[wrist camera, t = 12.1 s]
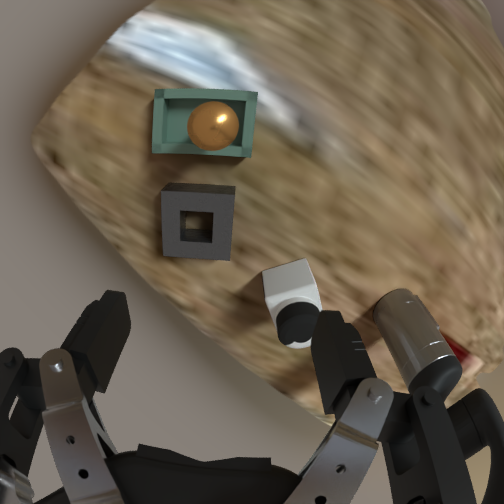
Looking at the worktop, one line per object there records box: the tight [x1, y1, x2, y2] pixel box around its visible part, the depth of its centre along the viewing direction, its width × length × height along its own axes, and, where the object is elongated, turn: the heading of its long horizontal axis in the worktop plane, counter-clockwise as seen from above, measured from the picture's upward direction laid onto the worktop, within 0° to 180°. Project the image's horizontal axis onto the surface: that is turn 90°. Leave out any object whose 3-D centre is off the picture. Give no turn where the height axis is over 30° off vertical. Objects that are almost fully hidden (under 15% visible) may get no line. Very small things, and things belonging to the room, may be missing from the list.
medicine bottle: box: [262, 258, 322, 348], centre depth 38 cm, size 7×7×12 cm
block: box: [161, 183, 236, 261], centre depth 36 cm, size 9×9×4 cm
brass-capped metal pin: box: [187, 101, 239, 151], centre depth 26 cm, size 4×4×11 cm
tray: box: [152, 89, 258, 158], centre depth 30 cm, size 12×8×3 cm, turn 84°
